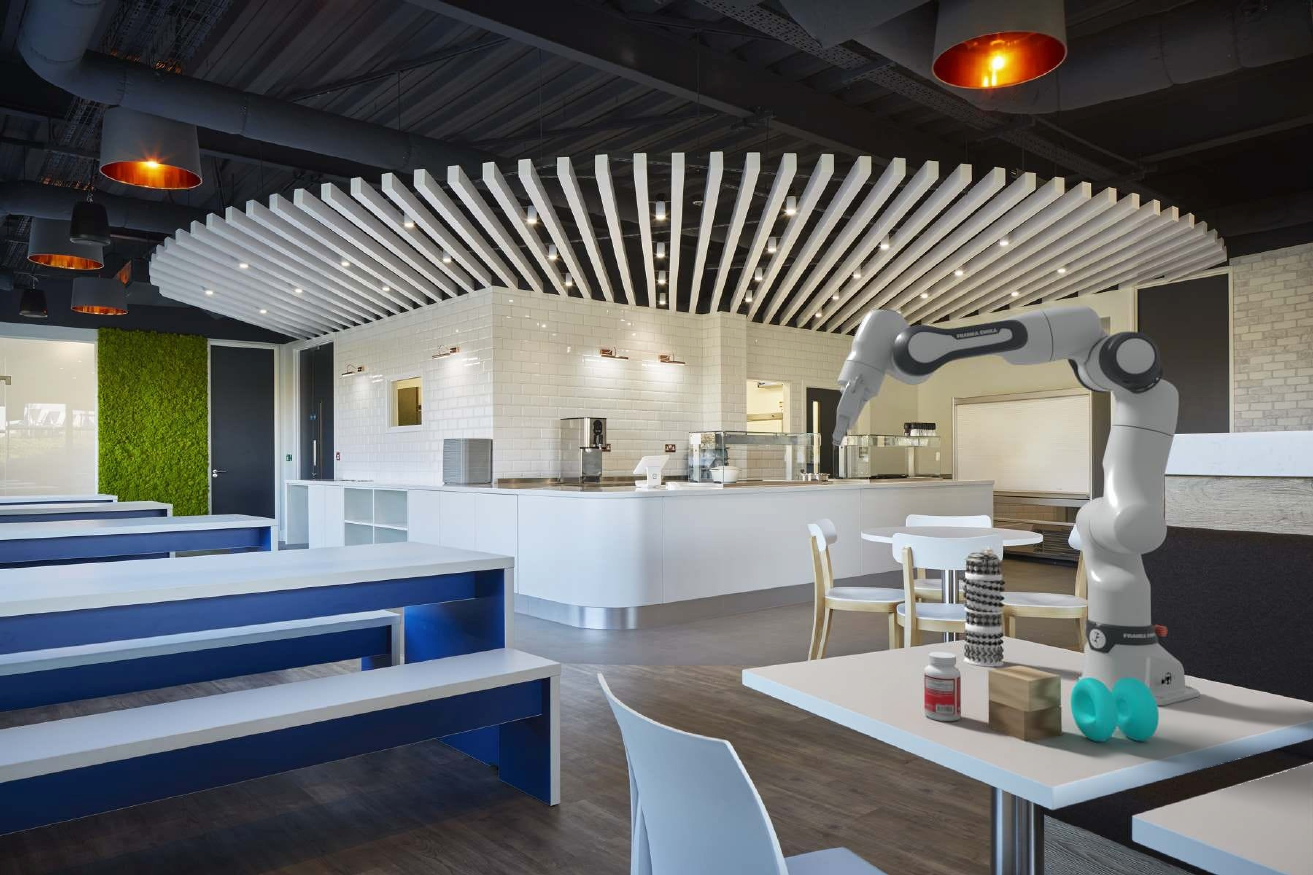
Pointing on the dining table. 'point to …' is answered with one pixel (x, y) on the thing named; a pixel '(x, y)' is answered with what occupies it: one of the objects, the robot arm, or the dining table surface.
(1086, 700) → the turquoise spool
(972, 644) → the decorative candle
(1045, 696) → the tower top
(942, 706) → the pill bottle
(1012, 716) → the tower base
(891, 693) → the dining table surface
